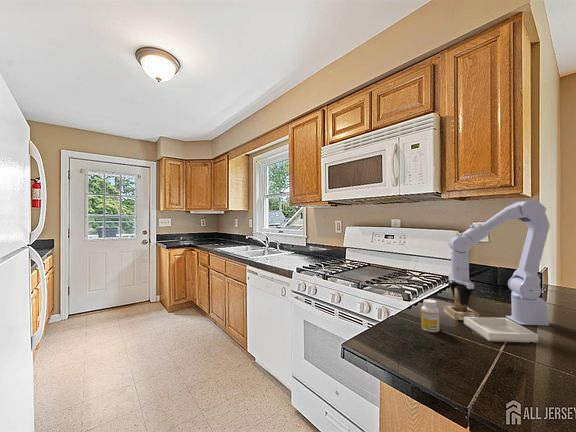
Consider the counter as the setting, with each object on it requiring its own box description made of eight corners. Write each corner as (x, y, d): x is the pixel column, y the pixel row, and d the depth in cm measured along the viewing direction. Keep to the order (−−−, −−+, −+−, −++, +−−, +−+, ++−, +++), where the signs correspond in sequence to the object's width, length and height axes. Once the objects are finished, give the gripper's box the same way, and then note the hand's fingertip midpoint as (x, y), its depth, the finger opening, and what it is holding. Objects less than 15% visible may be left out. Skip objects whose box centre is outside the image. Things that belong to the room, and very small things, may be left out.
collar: (466, 312, 109) (466, 306, 109) (479, 320, 101) (479, 313, 101) (444, 312, 110) (444, 305, 110) (454, 319, 101) (454, 313, 101)
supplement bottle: (427, 325, 97) (426, 297, 97) (442, 330, 92) (442, 301, 92) (418, 328, 94) (418, 300, 94) (434, 333, 89) (433, 304, 89)
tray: (505, 324, 96) (505, 317, 96) (538, 342, 82) (538, 334, 82) (464, 323, 98) (463, 316, 98) (488, 341, 84) (488, 332, 84)
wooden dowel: (463, 310, 107) (463, 287, 107) (469, 313, 103) (468, 289, 103) (452, 310, 107) (452, 287, 108) (458, 313, 103) (457, 289, 104)
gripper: (440, 264, 113) (441, 297, 113) (459, 271, 99) (459, 308, 98) (458, 264, 112) (459, 297, 112) (479, 271, 98) (480, 309, 98)
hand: (460, 302), depth 105 cm, fingers closed on wooden dowel, 4 cm apart
